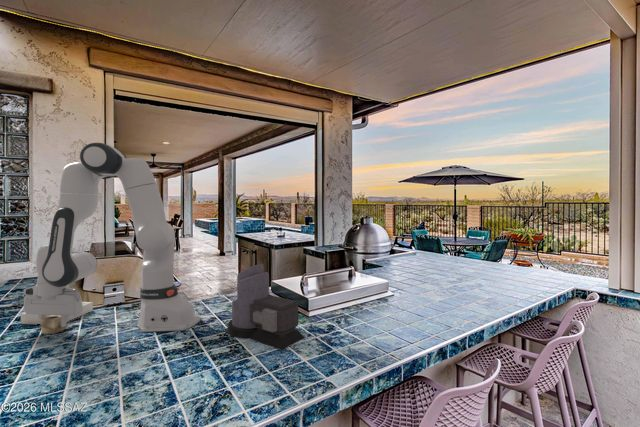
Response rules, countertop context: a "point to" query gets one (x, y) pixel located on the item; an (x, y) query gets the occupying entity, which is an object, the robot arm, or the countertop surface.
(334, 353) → the countertop surface
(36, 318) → the tray
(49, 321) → the block
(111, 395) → the countertop surface
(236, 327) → the juicer
